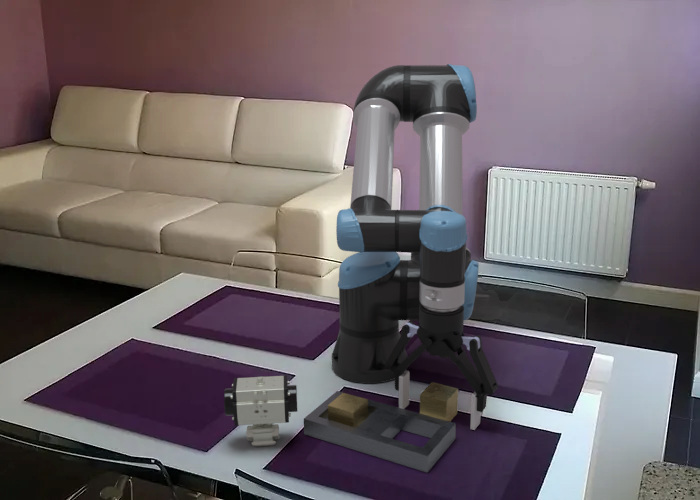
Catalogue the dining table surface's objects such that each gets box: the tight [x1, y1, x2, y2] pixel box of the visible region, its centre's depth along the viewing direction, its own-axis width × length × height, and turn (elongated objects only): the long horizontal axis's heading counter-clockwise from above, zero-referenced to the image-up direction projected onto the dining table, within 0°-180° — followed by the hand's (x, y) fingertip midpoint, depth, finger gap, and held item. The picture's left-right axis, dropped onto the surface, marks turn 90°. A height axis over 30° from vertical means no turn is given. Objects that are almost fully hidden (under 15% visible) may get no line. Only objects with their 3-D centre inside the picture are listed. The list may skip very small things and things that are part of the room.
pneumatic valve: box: [223, 375, 298, 448], centre depth 130 cm, size 6×12×12 cm, turn 95°
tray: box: [303, 390, 457, 474], centre depth 132 cm, size 23×11×3 cm, turn 60°
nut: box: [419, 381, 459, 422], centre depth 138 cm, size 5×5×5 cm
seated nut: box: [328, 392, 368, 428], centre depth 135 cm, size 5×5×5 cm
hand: (438, 416), depth 138 cm, fingers open, 13 cm apart
